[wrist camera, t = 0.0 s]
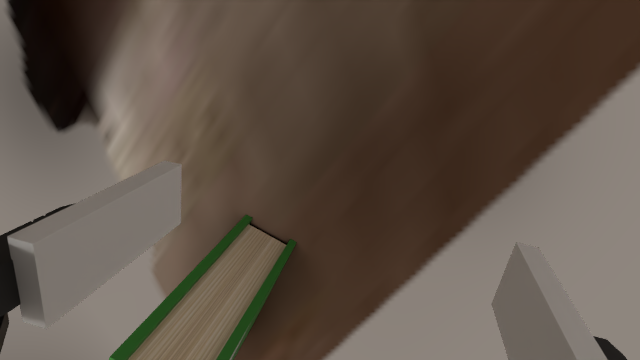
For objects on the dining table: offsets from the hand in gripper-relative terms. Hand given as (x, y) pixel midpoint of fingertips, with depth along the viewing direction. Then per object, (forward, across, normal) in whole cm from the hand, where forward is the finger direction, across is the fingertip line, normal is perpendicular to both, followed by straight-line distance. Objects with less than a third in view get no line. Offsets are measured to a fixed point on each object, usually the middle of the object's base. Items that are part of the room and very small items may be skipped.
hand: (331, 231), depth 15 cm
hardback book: (+28, -13, -26) cm, 40 cm away
